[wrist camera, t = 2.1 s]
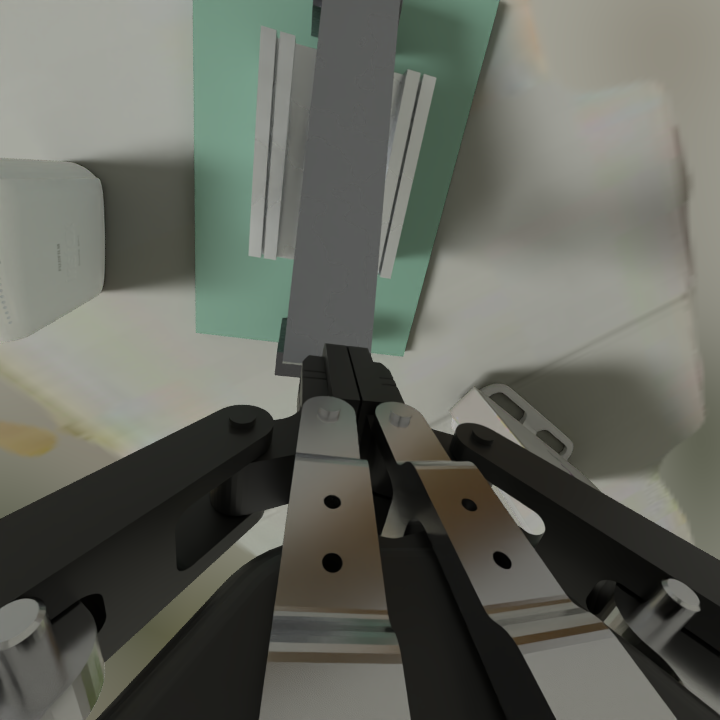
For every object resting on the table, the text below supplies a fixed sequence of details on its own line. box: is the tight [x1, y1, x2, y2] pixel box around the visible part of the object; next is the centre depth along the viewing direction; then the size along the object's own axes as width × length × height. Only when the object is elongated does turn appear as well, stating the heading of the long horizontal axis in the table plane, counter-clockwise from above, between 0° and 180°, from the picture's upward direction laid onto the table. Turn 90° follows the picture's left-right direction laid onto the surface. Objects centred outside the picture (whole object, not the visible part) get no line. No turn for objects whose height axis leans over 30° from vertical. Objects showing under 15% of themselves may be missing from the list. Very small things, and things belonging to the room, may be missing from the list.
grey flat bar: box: [283, 0, 403, 365], centre depth 18 cm, size 21×4×1 cm
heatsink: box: [248, 0, 436, 378], centre depth 26 cm, size 24×10×7 cm, turn 169°
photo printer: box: [0, 158, 105, 343], centre depth 23 cm, size 10×4×12 cm, turn 163°
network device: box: [450, 383, 602, 535], centre depth 37 cm, size 26×9×20 cm, turn 49°
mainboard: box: [193, 0, 500, 356], centre depth 29 cm, size 28×20×1 cm
